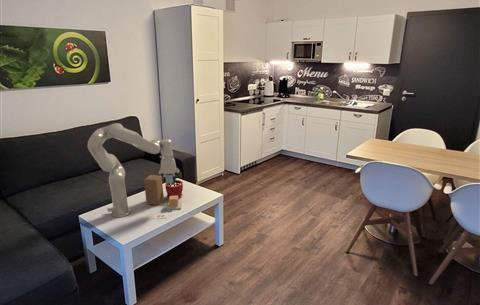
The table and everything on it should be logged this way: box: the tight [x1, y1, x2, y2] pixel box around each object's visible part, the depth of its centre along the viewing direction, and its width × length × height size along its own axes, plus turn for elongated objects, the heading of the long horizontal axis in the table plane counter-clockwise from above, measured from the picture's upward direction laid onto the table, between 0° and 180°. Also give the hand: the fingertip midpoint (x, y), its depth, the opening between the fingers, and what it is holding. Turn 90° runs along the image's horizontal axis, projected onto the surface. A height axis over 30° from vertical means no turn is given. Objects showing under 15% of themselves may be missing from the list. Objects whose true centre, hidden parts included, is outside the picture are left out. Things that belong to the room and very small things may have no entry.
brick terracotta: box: [168, 196, 180, 207], centre depth 228 cm, size 6×6×6 cm
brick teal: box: [165, 173, 174, 184], centre depth 221 cm, size 5×5×6 cm
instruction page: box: [153, 213, 168, 220], centre depth 215 cm, size 8×6×1 cm
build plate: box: [166, 201, 183, 211], centre depth 229 cm, size 10×10×1 cm
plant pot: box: [164, 179, 184, 199], centre depth 242 cm, size 13×13×12 cm
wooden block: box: [143, 174, 165, 206], centre depth 233 cm, size 10×10×20 cm
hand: (170, 181), depth 222 cm, fingers closed on brick teal, 5 cm apart
